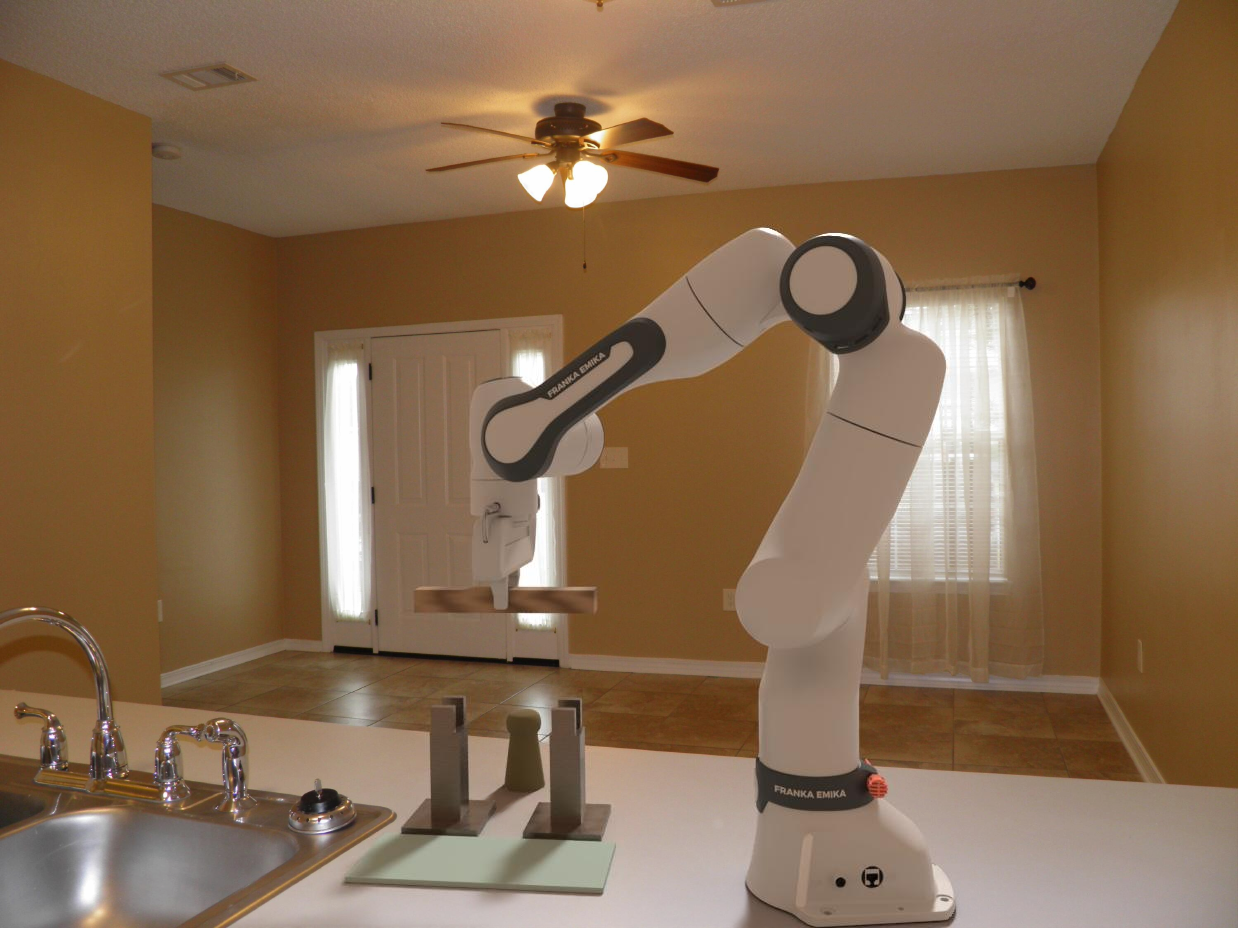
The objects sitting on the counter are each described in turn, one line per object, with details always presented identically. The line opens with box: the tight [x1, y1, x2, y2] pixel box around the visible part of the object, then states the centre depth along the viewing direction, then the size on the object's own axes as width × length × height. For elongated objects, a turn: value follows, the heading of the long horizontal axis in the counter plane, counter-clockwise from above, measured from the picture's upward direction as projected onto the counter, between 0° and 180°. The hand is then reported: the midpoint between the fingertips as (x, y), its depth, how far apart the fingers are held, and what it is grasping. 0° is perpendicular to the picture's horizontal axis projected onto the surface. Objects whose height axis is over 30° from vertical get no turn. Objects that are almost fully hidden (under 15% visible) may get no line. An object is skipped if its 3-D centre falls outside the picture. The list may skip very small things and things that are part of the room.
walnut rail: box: [413, 585, 598, 615], centre depth 122 cm, size 24×3×3 cm, turn 83°
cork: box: [503, 708, 546, 793], centre depth 136 cm, size 6×6×11 cm
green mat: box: [344, 832, 617, 894], centre depth 110 cm, size 30×12×1 cm, turn 83°
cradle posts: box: [400, 694, 612, 842], centre depth 122 cm, size 26×10×16 cm, turn 83°
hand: (506, 605), depth 122 cm, fingers closed on walnut rail, 3 cm apart
